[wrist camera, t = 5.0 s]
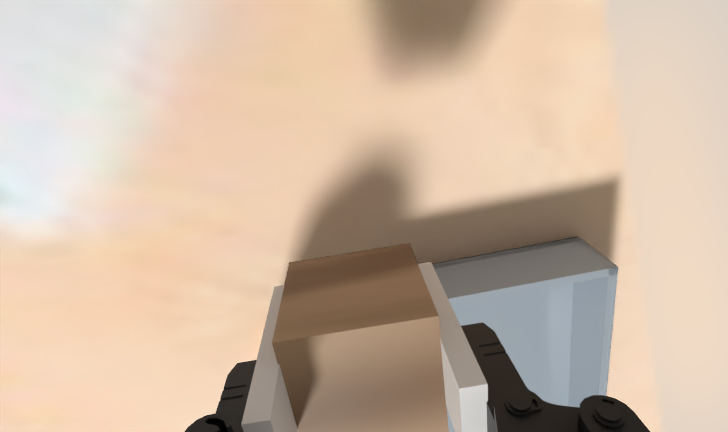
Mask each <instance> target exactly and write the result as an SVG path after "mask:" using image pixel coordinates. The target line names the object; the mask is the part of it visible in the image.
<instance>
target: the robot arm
mask: <svg viewBox="0 0 728 432" xmlns="http://www.w3.org/2000/svg"><path fill="white" fill-rule="evenodd" d="M418 266H419V268H420V271H421V273H422V276H423V278H424V281H425V283H426V285H427V288H428V290H429V293H430V295H431V298H432V300H433V303H434V305H435V308H436V310H437V313H438V315H439V324H440V335H441V338H440V341H441V352H442V364H443V376H444V387H445V399H446V406H447V409H448V412H449V415H450V418H451V421H452V425H453V428H454V431H455V432H650V431H649V430H648V429H647V427H646V426H645V425H644V424H643V423H642V421H641V420H640V419H639V418H638V416H637V415H636V414H635V413H634V412H633V411H632V410H631V409H630V408H629V407H628V406H627V405H626V404H624V403H622V402H621V401H619V400H617V399H615V398H612V397H608V396H604V395H592V396H589V397H587V398H584V400H583V401H582V402H581V403H580V407H570V406H562V405H556V404H551V403H548V402H546V401H543V400H542V399H541V398H540V397H539V396H538V395H537V394H535V393H534V392H532V391H530V390H529V389H528V388H527V387H526V385H525V384H524V382H523V380H522V378H521V377H520V375H519V373H518V371H517V370H516V368H515V366H514V364H513V363H512V361H511V359H510V357H509V356H508V354H507V353H506V351H505V349H504V347H503V345H502V344H501V342H500V340H499V338H498V337H497V335H496V333H495V331H494V330H492V329H491V328H490V327H488V326H487V325H486V324H484V323H483V322H482V323H475V324H469V325H463V326H460V323H459V321H458V319H457V317H456V315H455V313H454V310H453V308H452V306H451V304H450V302H449V300H448V298H447V295H446V293H445V291H444V289H443V287H442V285H441V282H440V280H439V278H438V276H437V274H436V272H435V270H434V267H433V265H432V263H431V262H427V263H421V264H418ZM283 289H284V285H283V286H277V287H274V291H273V295H272V299H271V303H270V307H269V311H268V316H267V320H266V324H265V328H264V332H263V336H262V340H261V344H260V349H259V353H258V357H257V360H254V361H248V362H242V363H237V364H236V366H235V367H234V368H233V369H232V371H231V372H230V373H229V374H228V376H227V380H226V383H225V386H224V391H223V392H222V395H221V398H220V399H221V401H219V405H218V408H217V411H216V414H211V415H206V416H204V417H202V418H200V419H198V420H196V421H195V422H194V423H193V424H191V425H190V426H189V427H188V428H187V429H186V431H185V432H297V426H296V422H295V418H294V415H293V411H292V408H291V404H290V401H289V397H288V393H287V390H286V386H285V383H284V379H283V375H282V372H281V368H280V365H279V364H278V363H277V359H276V356H275V352H274V349H273V345H272V340H273V335H274V331H275V326H276V322H277V317H278V312H279V308H280V303H281V299H282V294H283Z"/></svg>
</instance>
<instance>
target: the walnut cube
mask: <svg viewBox="0 0 728 432" xmlns="http://www.w3.org/2000/svg"><path fill="white" fill-rule="evenodd" d="M440 338H441V335H440V324H439V315H438V313H437V310H436V308H435V305H434V303H433V300H432V298H431V295H430V293H429V290H428V288H427V285H426V283H425V281H424V278H423V276H422V273H421V271H420V268H419V266H418V263H417V261H416V258H415V256H414V253H413V251H412V248H411V246H410V244H403V245H397V246H391V247H384V248H378V249H372V250H365V251H359V252H353V253H347V254H340V255H334V256H328V257H321V258H315V259H309V260H302V261H296V262H290V263H289V267H288V271H287V276H286V280H285V285H284V289H283V294H282V299H281V303H280V308H279V312H278V317H277V322H276V326H275V331H274V335H273V340H272V345H273V349H274V352H275V356H276V359H277V363H278V364H279V365H280V368H281V372H282V375H283V379H284V383H285V386H286V390H287V393H288V397H289V401H290V404H291V408H292V411H293V415H294V418H295V422H296V426H297V432H449V428H448V417H447V406H446V399H445V387H444V376H443V364H442V352H441V341H440Z"/></svg>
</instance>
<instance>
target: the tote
mask: <svg viewBox="0 0 728 432" xmlns="http://www.w3.org/2000/svg"><path fill="white" fill-rule="evenodd" d="M432 265H433V267H434V270H435V272H436V274H437V276H438V278H439V280H440V282H441V285H442V287H443V289H444V291H445V293H446V295H447V298H448V300H449V302H450V304H451V306H452V308H453V310H454V313H455V315H456V317H457V319H458V321H459V323H460V326H463V325H469V324H475V323H482V322H483V323H484V324H486V325H487V326H488V327H490V328H491V329H492V330H494V331H495V333H496V335H497V337H498V338H499V340H500V342H501V344H502V345H503V347H504V349H505V351H506V353H507V354H508V356H509V357H510V359H511V361H512V363H513V364H514V366H515V368H516V370H517V371H518V373H519V375H520V377H521V378H522V380H523V382H524V384H525V385H526V387H527V388H528V389H529V390H530V391H532V392H534V393H535V394H537V395H538V396H539V397H540V398H541V399H542V400H543V401H546V402H548V403H551V404H556V405H562V406H570V407H580V403H581V402H582V401H583V400H584V398H587V397H589V396H592V395H604V396H606V392H607V382H608V371H609V360H610V349H611V338H612V327H613V316H614V305H615V294H616V284H617V273H618V267H617V266H616V265H615V264H614V263H612V262H611V261H610V260H608V259H607V258H606V257H604V256H603V255H602V254H600V253H599V252H598V251H597V250H595V249H594V248H593V247H591V246H590V245H589V244H587V243H586V242H585V241H583V240H582V239H581V238H579V237H575V238H570V239H564V240H559V241H554V242H548V243H543V244H538V245H532V246H527V247H522V248H516V249H511V250H506V251H500V252H495V253H490V254H484V255H479V256H474V257H468V258H463V259H458V260H452V261H447V262H442V263H436V264H432ZM447 417H448V428H449V432H455V431H454V428H453V425H452V421H451V418H450V415H449V412H448V409H447Z"/></svg>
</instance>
